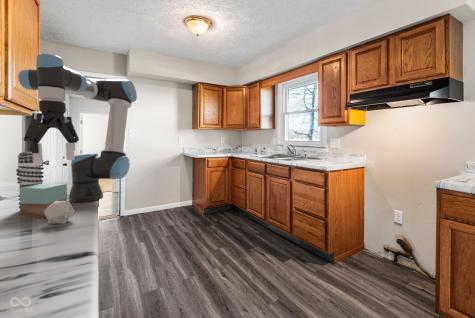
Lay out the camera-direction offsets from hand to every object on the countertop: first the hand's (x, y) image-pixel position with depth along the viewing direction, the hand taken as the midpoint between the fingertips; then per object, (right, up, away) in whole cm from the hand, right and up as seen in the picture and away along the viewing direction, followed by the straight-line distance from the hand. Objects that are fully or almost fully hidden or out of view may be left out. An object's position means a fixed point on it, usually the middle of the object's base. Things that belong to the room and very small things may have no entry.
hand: (55, 161), depth 88 cm
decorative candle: (-24, -21, +19) cm, 37 cm away
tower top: (-13, -16, +11) cm, 23 cm away
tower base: (-13, -22, +12) cm, 28 cm away
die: (0, -23, +2) cm, 23 cm away
